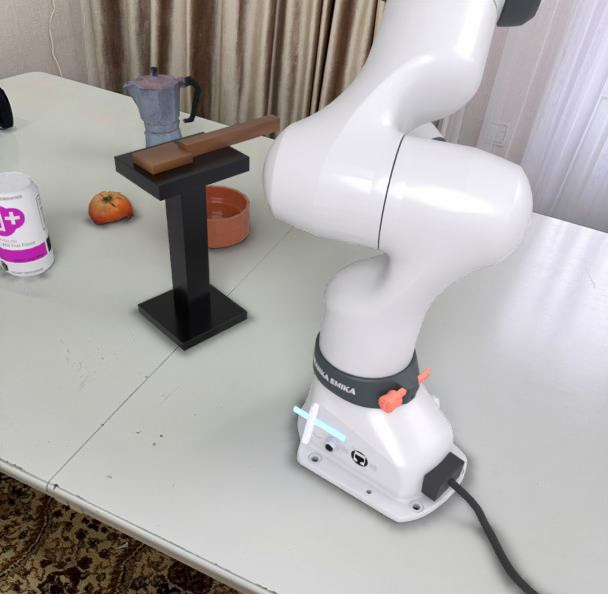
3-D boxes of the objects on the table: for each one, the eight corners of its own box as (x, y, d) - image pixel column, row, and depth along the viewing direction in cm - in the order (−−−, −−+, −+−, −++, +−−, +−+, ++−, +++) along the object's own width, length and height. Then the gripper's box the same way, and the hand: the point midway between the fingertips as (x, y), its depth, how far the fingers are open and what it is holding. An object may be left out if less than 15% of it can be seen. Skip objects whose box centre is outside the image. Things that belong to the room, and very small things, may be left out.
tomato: (74, 213, 114) (91, 177, 114) (94, 222, 121) (110, 188, 121) (109, 231, 113) (127, 195, 112) (128, 239, 120) (144, 205, 119)
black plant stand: (252, 316, 98) (254, 159, 81) (178, 354, 90) (163, 189, 73) (205, 281, 104) (198, 128, 87) (132, 314, 96) (109, 153, 79)
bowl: (263, 234, 116) (264, 205, 112) (207, 258, 109) (205, 228, 105) (220, 207, 123) (219, 178, 119) (163, 227, 116) (161, 198, 112)
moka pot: (130, 155, 138) (118, 60, 124) (199, 150, 142) (195, 58, 128) (135, 174, 131) (123, 76, 118) (207, 169, 135) (204, 73, 122)
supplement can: (39, 282, 100) (17, 198, 91) (-8, 274, 101) (-35, 189, 91) (64, 256, 107) (46, 174, 97) (19, 248, 107) (-3, 166, 98)
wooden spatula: (285, 133, 87) (286, 121, 86) (152, 175, 75) (151, 161, 74) (265, 123, 90) (265, 111, 88) (132, 162, 78) (131, 148, 76)
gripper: (321, 134, 111) (272, 109, 100) (409, 176, 101) (366, 153, 90) (306, 167, 113) (257, 146, 102) (391, 212, 103) (347, 194, 92)
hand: (309, 150), depth 96 cm, fingers open, 8 cm apart
